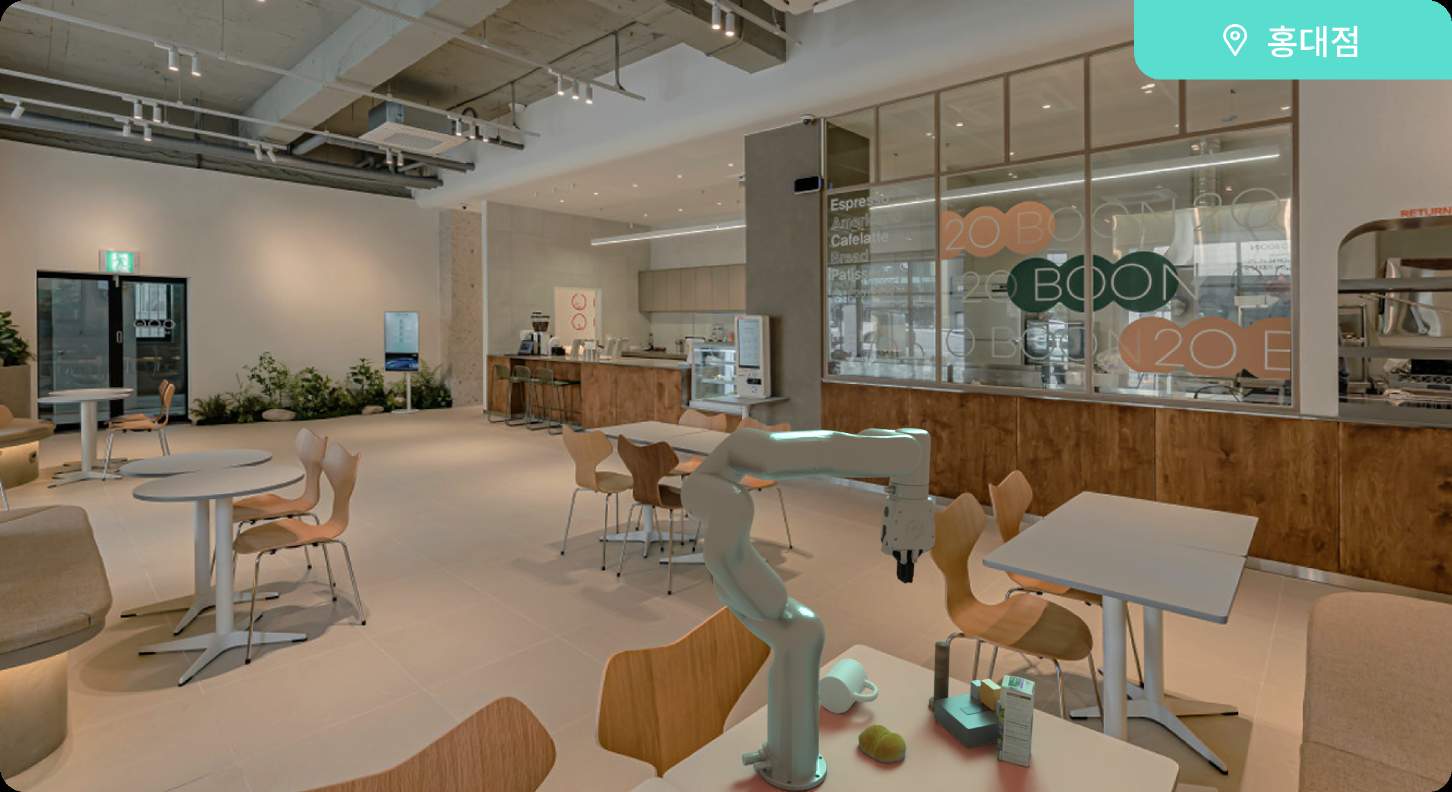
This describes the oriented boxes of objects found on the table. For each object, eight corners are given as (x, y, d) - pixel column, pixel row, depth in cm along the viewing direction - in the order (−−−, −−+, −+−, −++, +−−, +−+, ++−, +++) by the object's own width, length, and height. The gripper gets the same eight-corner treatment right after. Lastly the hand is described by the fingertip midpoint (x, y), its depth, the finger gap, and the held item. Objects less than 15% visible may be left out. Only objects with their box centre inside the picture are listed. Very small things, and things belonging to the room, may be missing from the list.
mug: (816, 707, 149) (816, 672, 148) (834, 687, 157) (834, 654, 157) (869, 724, 143) (869, 687, 142) (885, 702, 151) (885, 667, 150)
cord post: (937, 714, 146) (939, 651, 145) (924, 702, 151) (925, 641, 149) (957, 710, 148) (959, 648, 146) (943, 698, 152) (945, 638, 151)
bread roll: (890, 770, 128) (890, 750, 128) (851, 748, 135) (852, 729, 134) (915, 752, 133) (916, 733, 133) (877, 732, 140) (878, 713, 140)
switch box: (967, 748, 134) (968, 714, 134) (934, 718, 145) (935, 686, 144) (1026, 735, 138) (1027, 702, 138) (990, 707, 149) (991, 676, 148)
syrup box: (999, 743, 136) (1002, 673, 134) (1032, 752, 133) (1035, 680, 132) (996, 759, 131) (998, 686, 129) (1030, 768, 128) (1033, 694, 127)
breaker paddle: (992, 710, 140) (993, 689, 139) (980, 700, 143) (980, 680, 143) (1001, 709, 140) (1001, 687, 140) (988, 699, 144) (988, 678, 144)
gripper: (884, 496, 131) (880, 590, 132) (952, 493, 135) (948, 584, 137) (865, 488, 138) (862, 577, 140) (930, 485, 142) (926, 572, 144)
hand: (904, 580), depth 138 cm, fingers closed
